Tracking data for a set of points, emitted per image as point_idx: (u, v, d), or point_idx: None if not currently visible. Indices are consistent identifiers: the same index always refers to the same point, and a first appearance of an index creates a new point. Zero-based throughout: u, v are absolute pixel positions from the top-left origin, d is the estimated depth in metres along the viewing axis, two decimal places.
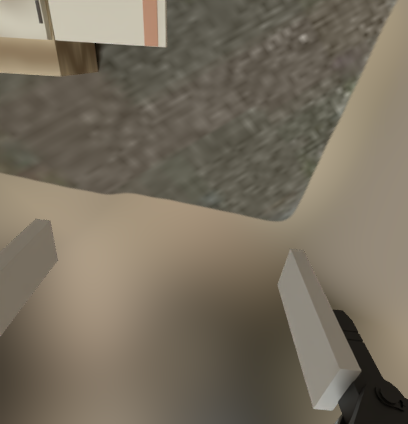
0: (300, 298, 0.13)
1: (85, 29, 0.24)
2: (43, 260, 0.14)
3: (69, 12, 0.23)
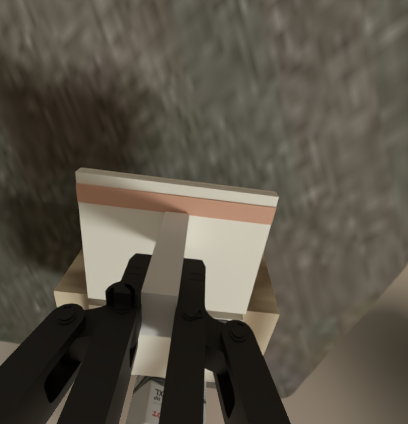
0: None
1: (240, 284, 0.19)
2: None
3: (221, 295, 0.20)
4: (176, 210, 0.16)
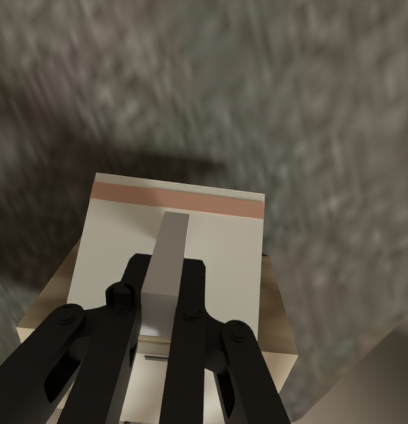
0: None
1: (245, 295, 0.17)
2: None
3: (225, 313, 0.17)
4: (178, 205, 0.19)
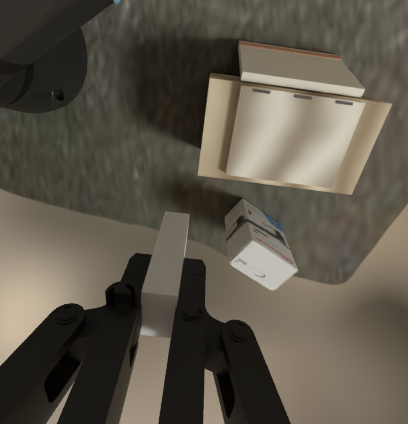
0: None
1: (346, 76, 0.28)
2: None
3: (339, 79, 0.27)
4: (290, 51, 0.31)
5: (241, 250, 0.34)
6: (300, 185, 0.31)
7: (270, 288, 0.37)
